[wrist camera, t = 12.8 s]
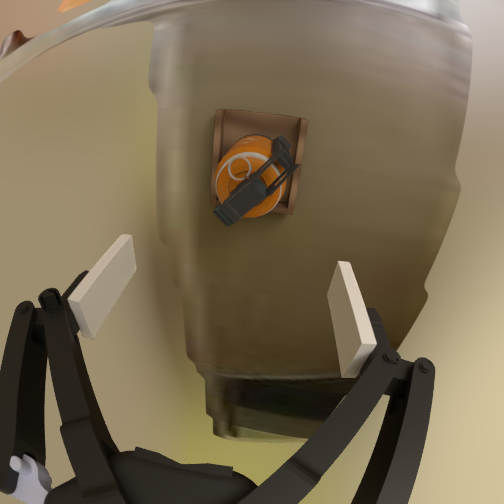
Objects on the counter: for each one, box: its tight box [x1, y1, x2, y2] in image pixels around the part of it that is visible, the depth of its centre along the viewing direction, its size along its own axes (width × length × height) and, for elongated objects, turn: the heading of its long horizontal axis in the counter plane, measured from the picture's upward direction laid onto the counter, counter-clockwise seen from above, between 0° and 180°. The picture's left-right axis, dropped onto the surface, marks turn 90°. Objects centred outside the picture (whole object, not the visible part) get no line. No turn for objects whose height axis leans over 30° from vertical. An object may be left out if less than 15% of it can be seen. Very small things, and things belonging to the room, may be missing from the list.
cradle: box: [210, 109, 308, 215], centre depth 44 cm, size 16×14×4 cm
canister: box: [213, 134, 300, 227], centre depth 36 cm, size 9×11×20 cm
